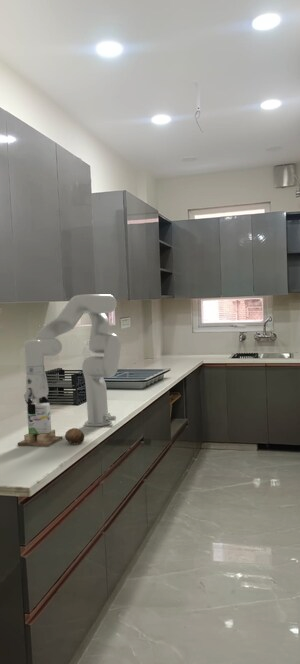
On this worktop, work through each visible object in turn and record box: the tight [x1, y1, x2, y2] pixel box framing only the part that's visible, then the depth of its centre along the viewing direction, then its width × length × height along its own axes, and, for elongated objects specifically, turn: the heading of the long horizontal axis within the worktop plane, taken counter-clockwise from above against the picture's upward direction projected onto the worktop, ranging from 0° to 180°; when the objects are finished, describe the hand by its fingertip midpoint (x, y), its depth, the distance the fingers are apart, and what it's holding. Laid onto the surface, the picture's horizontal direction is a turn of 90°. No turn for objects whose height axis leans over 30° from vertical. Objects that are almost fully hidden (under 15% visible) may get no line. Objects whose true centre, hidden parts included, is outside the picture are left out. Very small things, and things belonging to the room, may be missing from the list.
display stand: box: [17, 429, 63, 448], centre depth 209 cm, size 12×14×4 cm
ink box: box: [26, 402, 52, 434], centre depth 209 cm, size 8×5×12 cm, turn 86°
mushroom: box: [64, 427, 85, 445], centre depth 204 cm, size 8×8×6 cm
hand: (38, 411), depth 209 cm, fingers open, 9 cm apart
